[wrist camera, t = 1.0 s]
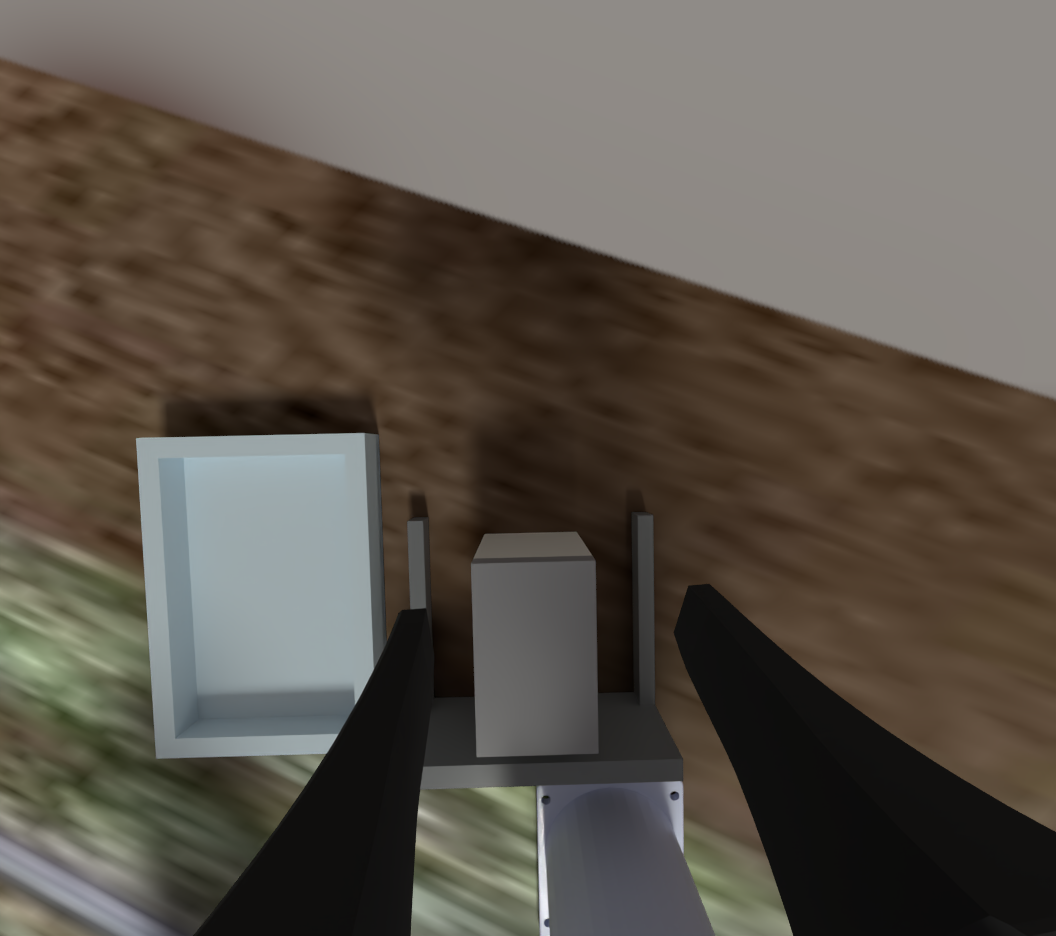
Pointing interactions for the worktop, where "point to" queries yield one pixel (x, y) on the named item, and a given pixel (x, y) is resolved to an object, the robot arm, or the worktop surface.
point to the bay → (623, 718)
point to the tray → (260, 588)
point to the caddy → (535, 645)
